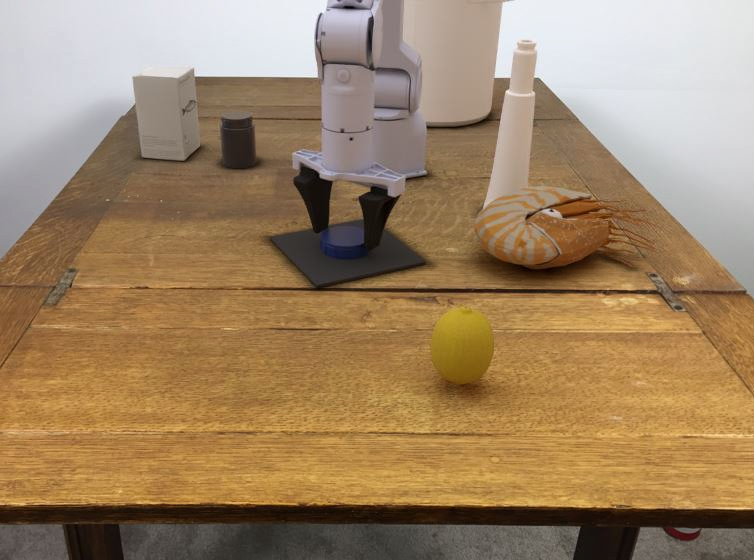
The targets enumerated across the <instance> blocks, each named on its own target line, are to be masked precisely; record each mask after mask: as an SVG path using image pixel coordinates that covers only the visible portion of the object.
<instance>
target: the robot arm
mask: <svg viewBox="0 0 754 560" xmlns="http://www.w3.org/2000/svg"><path fill="white" fill-rule="evenodd" d="M403 18H404V0H327V2H326V8H325V11H324V12H318V15H317V17H316V20H315V26H314V32H313V33H314V34H313V36H314V37H313V39H314V40H313V45H314V57H315V61H316V66H317V67H316V68H317V83H318V84H320V85H321V151H317V150H316V151H315V150H311V149H310V150H308V149H304V148H302V149H299V150H297V151H293V152H292V153H291V156H292V157H291V158H292V170H296V171H300V172H298V173H299V174H298V175H296V176H294V177H293V179H292V181H293V185H294V187H295V188H296V190H297V191H298V194H299V195H300V197H301V198H302V200H303V202H304V206H305V208H306V210H307V213H308V217H309V220H310V223H311V227H312V228H311V229H313V231H314V233H317V234H318V233H320V232H322V231H324V230H326V229H328V226H330V225H329V224H330V213H331V212H330V210H331V209H330V206H331V204H330V203H331V194H332V189H333V183H334V181H337V180H339V181H344V182H348V183H352V184H355V185H359V186H362V187H366V188H369V189H370V191H367V192H365V193H362V194H361V195H359V196H358V202H359V205H360V208H361V213H362V219H363V220H364V246H365V249H366V250H369V251H371V250H372V249H374V248H376V247H377V246H379V244H380V240H381V237H382V233H383V230H384V229H385V227H386V224H387V222H388V220H389V217H390V216H391V215H390V214H392V211H393V209H394V207H395V205H397V202H398V201H399V199H400V197H401V196H402V194H404V193H405V191H406V179H410V178H415V177H421V176H427V174H428V171H427V170H425V165H426V164H425V163H426V153H427V152H426V150H427V137H428V132H427V131H428V130H427V126H426V123H425V119H424V117H423V115H422V114H421V113H420V112H419V111H418V109H419V106H420V101H421V93H422V59H421V58H420V54H419V53H418V52H417V51H415V50H414V49H413V48H412V47H410V46H409V45H408V44H407V43H406V42H405V41H404V40H403Z"/></svg>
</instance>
